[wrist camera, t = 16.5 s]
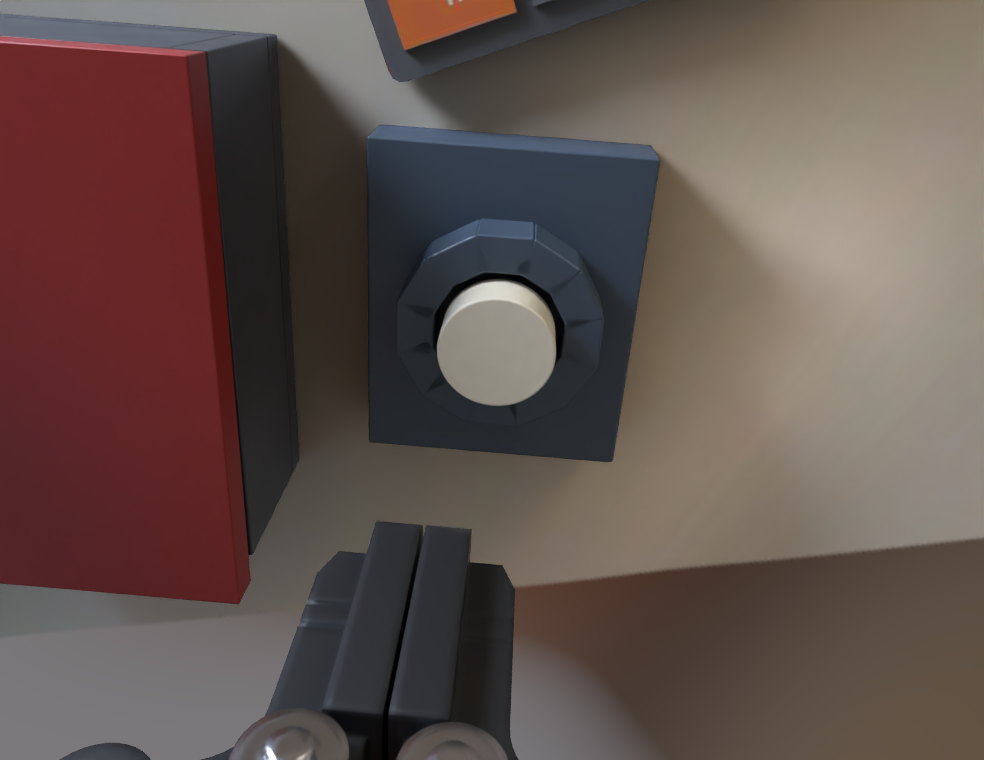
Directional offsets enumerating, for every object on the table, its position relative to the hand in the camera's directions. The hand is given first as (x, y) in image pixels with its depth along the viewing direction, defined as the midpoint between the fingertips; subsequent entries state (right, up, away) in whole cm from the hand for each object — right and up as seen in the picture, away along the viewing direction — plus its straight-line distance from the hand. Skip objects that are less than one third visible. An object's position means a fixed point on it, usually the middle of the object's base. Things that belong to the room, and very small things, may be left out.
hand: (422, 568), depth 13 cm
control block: (+2, +6, +16) cm, 17 cm away
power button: (+1, +5, +13) cm, 14 cm away
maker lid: (-14, +4, +11) cm, 18 cm away
